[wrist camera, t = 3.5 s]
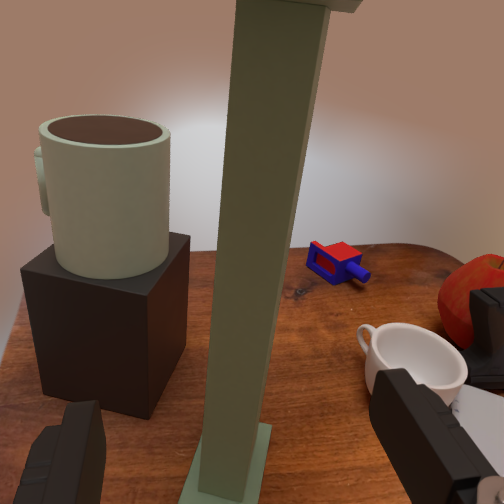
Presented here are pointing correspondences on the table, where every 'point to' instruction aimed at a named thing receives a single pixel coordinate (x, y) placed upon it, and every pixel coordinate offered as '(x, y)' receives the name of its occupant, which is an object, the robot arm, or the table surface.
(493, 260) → the apple
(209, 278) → the table surface
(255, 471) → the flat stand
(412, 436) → the robot arm
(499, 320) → the handgun
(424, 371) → the teacup
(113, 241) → the hollow cylinder with base
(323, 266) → the toy building block
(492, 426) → the grey smart device
